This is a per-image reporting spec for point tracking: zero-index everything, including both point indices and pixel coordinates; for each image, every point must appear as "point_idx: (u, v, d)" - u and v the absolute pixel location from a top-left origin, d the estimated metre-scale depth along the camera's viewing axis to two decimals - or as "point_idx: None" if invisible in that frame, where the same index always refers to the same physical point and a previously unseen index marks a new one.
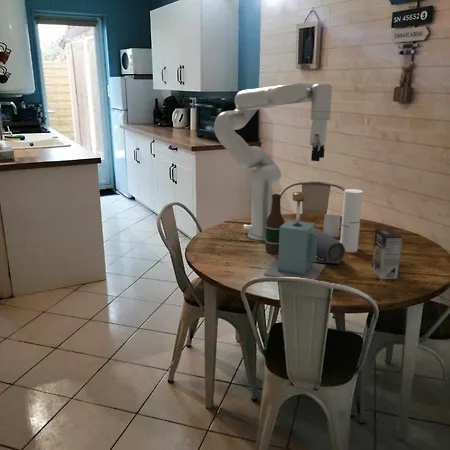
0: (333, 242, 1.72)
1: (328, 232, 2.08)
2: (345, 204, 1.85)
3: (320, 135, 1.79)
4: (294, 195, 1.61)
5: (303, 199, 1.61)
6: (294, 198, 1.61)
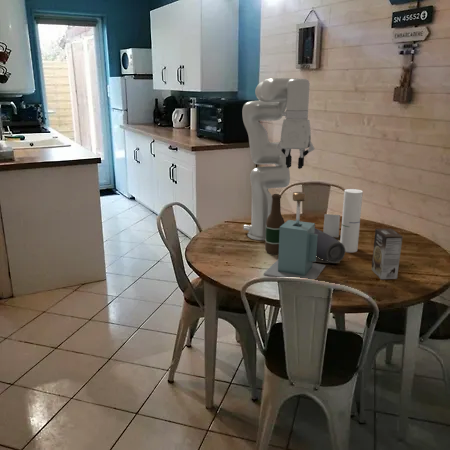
0: (333, 242, 1.72)
1: (328, 232, 2.08)
2: (345, 204, 1.85)
3: (310, 136, 1.62)
4: (294, 195, 1.61)
5: (303, 199, 1.61)
6: (294, 198, 1.61)
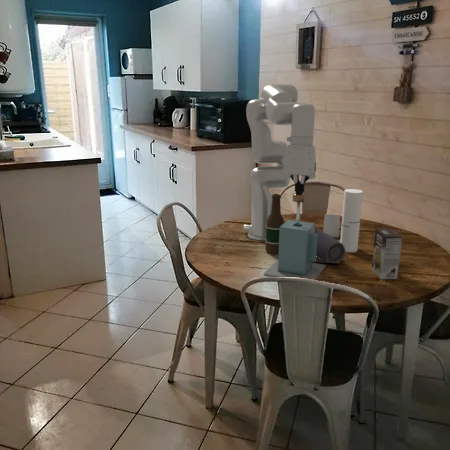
0: (333, 242, 1.72)
1: (328, 232, 2.08)
2: (345, 204, 1.85)
3: (315, 162, 1.57)
4: (294, 196, 1.61)
5: (303, 200, 1.61)
6: (294, 199, 1.61)
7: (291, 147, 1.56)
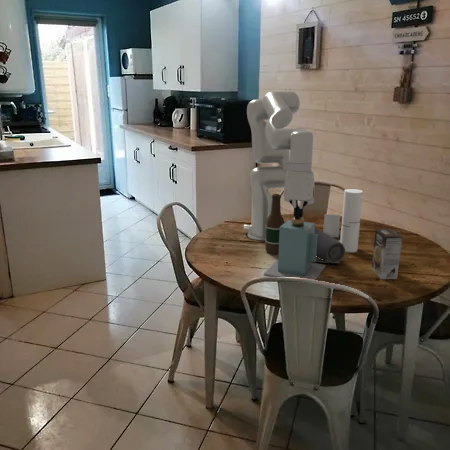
0: (333, 242, 1.72)
1: (328, 232, 2.08)
2: (345, 204, 1.85)
3: (314, 187, 1.60)
4: (293, 220, 1.63)
5: (302, 224, 1.63)
6: (293, 223, 1.64)
7: (290, 173, 1.58)
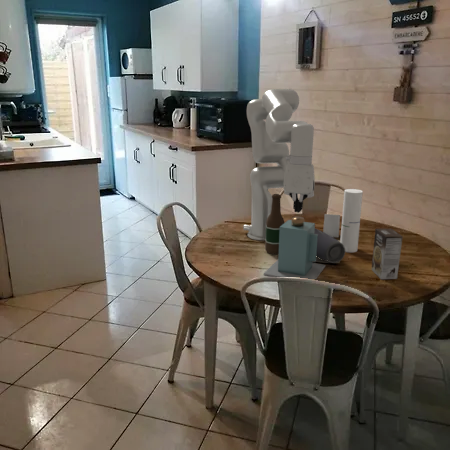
0: (333, 242, 1.72)
1: (328, 232, 2.08)
2: (345, 204, 1.85)
3: (314, 181, 1.60)
4: (293, 220, 1.63)
5: (302, 224, 1.63)
6: (293, 223, 1.64)
7: (290, 166, 1.58)
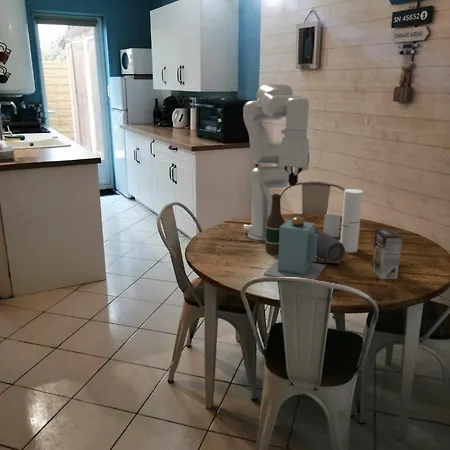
0: (333, 242, 1.72)
1: (328, 232, 2.08)
2: (345, 204, 1.85)
3: None
4: (293, 220, 1.63)
5: (302, 224, 1.63)
6: (293, 223, 1.64)
7: (285, 139, 1.61)
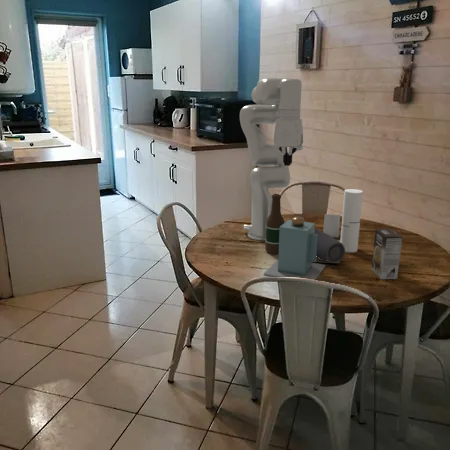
0: (333, 242, 1.72)
1: (328, 232, 2.08)
2: (345, 204, 1.85)
3: (302, 134, 1.67)
4: (293, 220, 1.63)
5: (302, 224, 1.63)
6: (293, 223, 1.64)
7: (279, 120, 1.65)
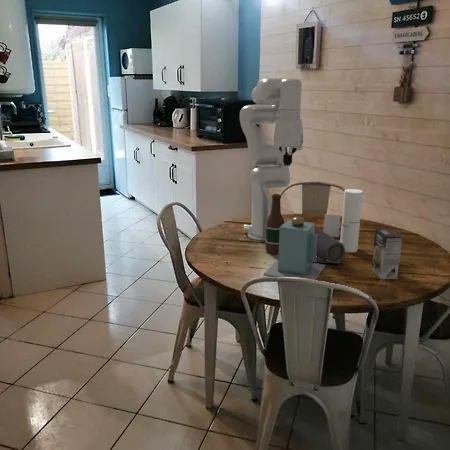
0: (333, 242, 1.72)
1: (328, 232, 2.08)
2: (345, 204, 1.85)
3: (302, 134, 1.67)
4: (293, 220, 1.63)
5: (302, 224, 1.63)
6: (293, 223, 1.64)
7: (279, 120, 1.65)
